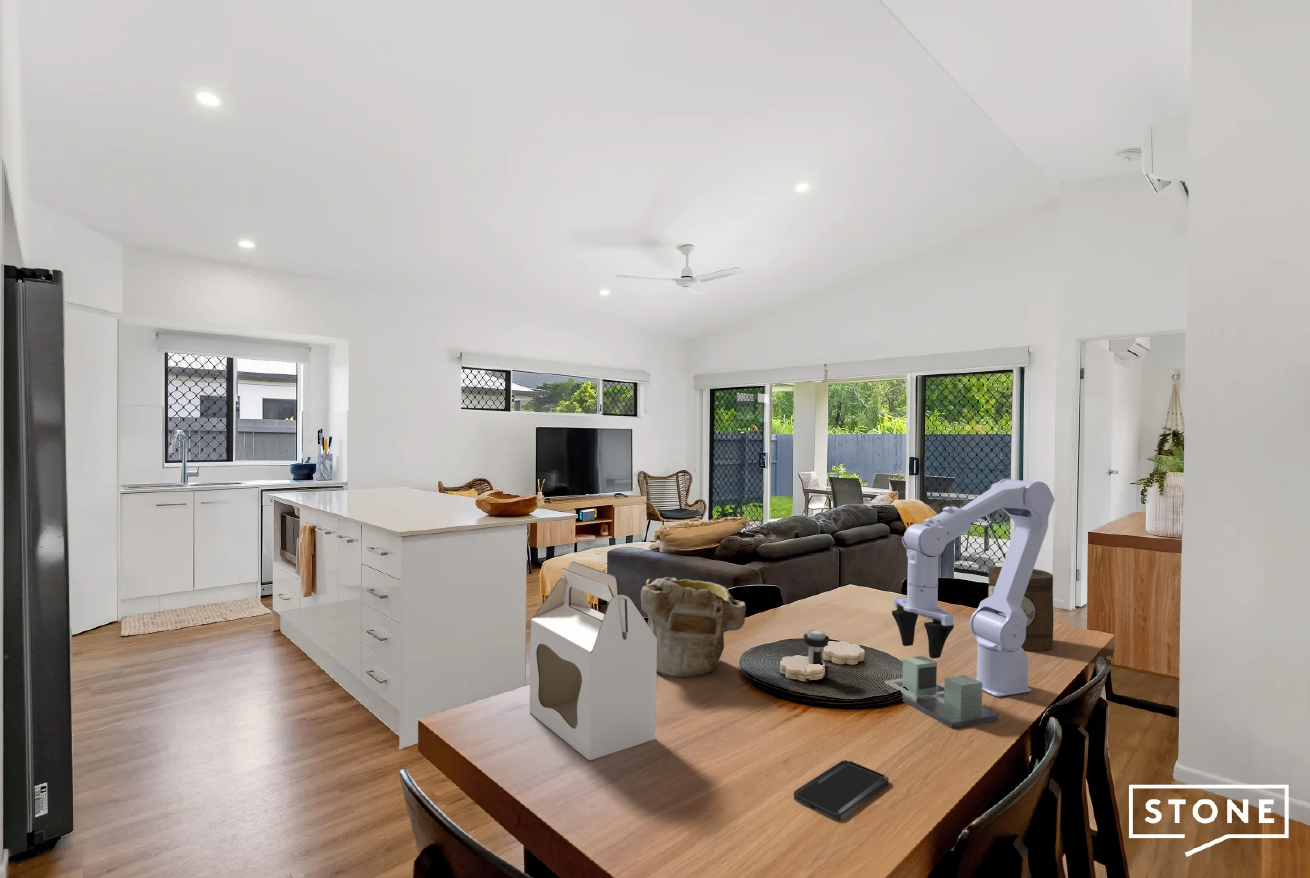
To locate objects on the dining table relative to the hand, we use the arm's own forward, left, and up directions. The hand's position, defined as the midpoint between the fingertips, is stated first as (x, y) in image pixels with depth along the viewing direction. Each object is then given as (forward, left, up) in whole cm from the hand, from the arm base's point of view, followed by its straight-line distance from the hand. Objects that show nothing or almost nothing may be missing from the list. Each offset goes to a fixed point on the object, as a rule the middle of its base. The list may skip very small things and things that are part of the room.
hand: (921, 651), depth 133 cm
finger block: (0, 0, -8) cm, 8 cm away
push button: (+16, -14, -9) cm, 23 cm away
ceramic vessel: (+38, -28, -9) cm, 48 cm away
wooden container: (-50, -20, -9) cm, 55 cm away
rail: (0, +4, -9) cm, 10 cm away
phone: (+37, +25, -10) cm, 46 cm away
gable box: (+67, -7, -9) cm, 68 cm away
